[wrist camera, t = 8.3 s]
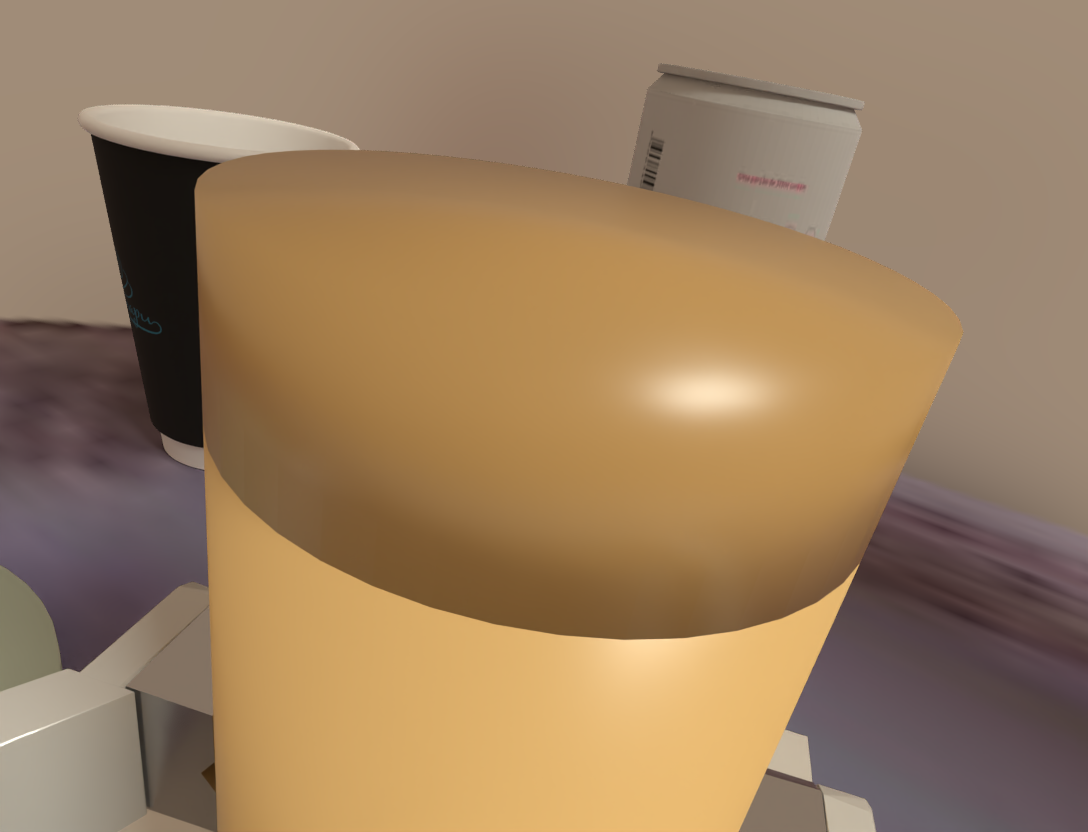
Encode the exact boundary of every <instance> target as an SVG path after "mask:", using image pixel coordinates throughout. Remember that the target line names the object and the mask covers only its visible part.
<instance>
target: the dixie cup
mask: <svg viewBox="0 0 1088 832" xmlns="http://www.w3.org/2000/svg"><path fill="white" fill-rule="evenodd" d="M78 122H79V124H80V126H81V127H83V129H84V130H86V131H87V132H89V133H91V136H92V142H93V146H94V151H95V156H96V160H97V165H98V170H99V175H100V180H101V185H102V189H103V194H104V199H105V203H106V208H107V213H108V218H109V223H110V227H111V232H112V237H113V242H114V246H115V251H116V256H117V261H118V265H119V270H120V275H121V279H122V284H123V289H124V294H125V299H126V303H127V308H128V313H129V318H130V322H131V327H132V332H133V337H134V341H135V346H136V351H137V356H138V360H139V365H140V370H141V375H142V379H143V384H144V389H145V394H146V398H147V403H148V408H149V413H150V417H151V421H152V423H153V425H154V426H155V428H156V429H157V430H158V431H159V432H161V437H162V442H163V446H164V449H165V451H166V452H167V453H168V454H169V455H170V456H171V457H172V458H173V459H175V460H177V461H178V462H181V463H183V464H185V465H188V466H191V467H194V468H198V469H203V470H205V469H204V442H203V414H202V386H201V358H200V330H199V302H198V275H197V247H196V219H195V191H194V190H195V187H196V183H197V179H198V178H199V177H200V176H201V175H202V174H203V173H204V172H206V171H207V170H208V169H210V168H212V167H214V166H216V165H218V164H221V163H223V162H226V161H229V160H233V159H237V158H241V157H245V156H251V155H257V154H263V153H272V152H283V151H297V150H360V149H359V147H358V146H357V145H356V144H355V143H353V142H352V141H350V140H348V139H346V138H343V137H341V136H338V135H335V134H333V133H329V132H326V131H323V130H319V129H315V128H311V127H307V126H303V125H298V124H294V123H289V122H284V121H279V120H274V119H268V118H263V117H257V116H251V115H244V114H237V113H230V112H223V111H214V110H206V109H196V108H187V107H175V106H160V105H139V104H138V105H137V104H133V105H132V104H119V105H118V104H117V105H102V106H94V107H90V108H86V109H84V110H82V111H81V112H80V113H79V115H78Z"/></svg>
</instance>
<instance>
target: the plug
mask: <svg viewBox="0 0 1088 832" xmlns="http://www.w3.org/2000/svg"><path fill="white" fill-rule="evenodd" d="M194 191H195V219H196V247H197V275H198V302H199V330H200V358H201V386H202V414H203V442H204V469H205V497H206V525H207V553H208V581H209V609H210V636H211V664H212V692H213V720H214V748H215V775H216V803H217V831H218V832H739V830H740V828H741V825H742V823H743V821H744V819H745V817H746V814H747V812H748V810H749V808H750V805H751V803H752V801H753V799H754V797H755V794H756V792H757V790H758V788H759V786H760V783H761V781H762V779H763V777H764V774H765V772H766V770H767V768H768V766H769V763H770V761H771V759H772V757H773V755H774V752H775V750H776V748H777V746H778V743H779V741H780V739H781V737H782V735H783V732H784V730H785V728H786V726H787V724H788V721H789V719H790V717H791V715H792V712H793V710H794V708H795V706H796V704H797V701H798V699H799V697H800V695H801V693H802V690H803V688H804V686H805V684H806V682H807V679H808V677H809V675H810V673H811V670H812V668H813V666H814V664H815V662H816V659H817V657H818V655H819V653H820V651H821V648H822V646H823V644H824V642H825V639H826V637H827V635H828V633H829V631H830V628H831V626H832V624H833V622H834V620H835V617H836V615H837V613H838V611H839V608H840V606H841V604H842V602H843V600H844V597H845V595H846V593H847V591H848V589H849V586H850V584H851V582H852V580H853V577H854V575H855V573H856V571H857V569H858V566H859V564H860V562H861V560H862V558H863V555H864V553H865V551H866V549H867V546H868V544H869V542H870V540H871V538H872V535H873V533H874V531H875V529H876V527H877V524H878V522H879V520H880V518H881V516H882V513H883V511H884V509H885V507H886V504H887V502H888V500H889V498H890V496H891V493H892V491H893V489H894V487H895V485H896V482H897V480H898V478H899V476H900V473H901V471H902V469H903V467H904V464H905V462H906V460H907V458H908V456H909V454H910V451H911V449H912V447H913V445H914V442H915V440H916V438H917V436H918V434H919V431H920V429H921V427H922V425H923V422H924V420H925V418H926V416H927V414H928V411H929V409H930V407H931V404H932V403H933V400H934V398H935V396H936V394H937V392H938V389H939V387H940V385H941V383H942V381H943V378H944V376H945V374H946V372H947V369H948V367H949V365H950V363H951V361H952V358H953V356H954V354H955V352H956V350H957V347H958V345H959V342H960V340H961V337H962V335H963V330H962V327H961V323H960V320H959V318H958V317H957V316H956V315H955V313H954V312H953V311H952V310H951V308H950V307H949V306H947V305H946V304H945V303H944V302H943V301H942V300H940V299H939V298H938V297H937V296H936V295H934V294H933V293H931V292H930V291H928V290H927V289H925V288H923V287H922V286H920V285H919V284H917V283H916V282H914V281H912V280H910V279H909V278H907V277H904V276H903V275H901V274H899V273H897V272H896V271H893V270H891V269H889V268H887V267H885V266H883V265H881V264H879V263H877V262H874V261H872V260H870V259H868V258H866V257H863V256H861V255H858V254H856V253H853V252H851V251H849V250H846V249H844V248H842V247H839V246H836V245H833V244H831V243H828V242H826V241H823V240H820V239H818V238H815V237H812V236H809V235H806V234H803V233H800V232H797V231H794V230H792V229H789V228H786V227H783V226H779V225H776V224H773V223H770V222H767V221H763V220H760V219H757V218H754V217H750V216H747V215H743V214H740V213H736V212H733V211H729V210H726V209H722V208H719V207H715V206H711V205H707V204H703V203H700V202H696V201H692V200H688V199H684V198H680V197H676V196H672V195H668V194H664V193H659V192H655V191H650V190H646V189H641V188H637V187H633V186H628V185H623V184H618V183H613V182H608V181H604V180H599V179H593V178H588V177H583V176H577V175H572V174H567V173H561V172H555V171H549V170H544V169H538V168H531V167H525V166H518V165H512V164H505V163H498V162H490V161H483V160H474V159H466V158H456V157H449V156H439V155H428V154H417V153H404V152H389V151H369V150H367V151H366V150H297V151H283V152H272V153H263V154H257V155H251V156H245V157H241V158H237V159H233V160H229V161H226V162H223V163H221V164H218V165H216V166H214V167H212V168H210V169H208V170H207V171H206V172H204V173H203V174H202V175H201V176H200V177H199V178H198V179H197V183H196V187H195V190H194Z"/></svg>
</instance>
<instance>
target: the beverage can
mask: <svg viewBox="0 0 1088 832" xmlns="http://www.w3.org/2000/svg"><path fill="white" fill-rule="evenodd" d="M657 71H658V72H661V73H664V74H663V75H662V76H661V77H660V78H659V79H658V80H657V81H656V82H654V83H653V84H652V85H651V86H650V87H649V88H648V89H647V94H646V99H645V103H644V108H643V113H642V117H641V123H640V127H639V131H638V137H637V141H636V146H635V150H634V155H633V159H632V164H631V169H630V174H629V178H628V183H627V185H628V186H633V187H637V188H641V189H646V190H650V191H655V192H659V193H664V194H668V195H672V196H676V197H680V198H684V199H688V200H692V201H696V202H700V203H703V204H707V205H711V206H715V207H719V208H722V209H726V210H729V211H733V212H736V213H740V214H743V215H747V216H750V217H754V218H757V219H760V220H763V221H767V222H770V223H773V224H776V225H779V226H783V227H786V228H789V229H792V230H794V231H797V232H800V233H803V234H806V235H809V236H812V237H815V238H818V239H820V240H823V241H824V240H825V237H826V234H827V232H828V228H829V226H830V222H831V220H832V217H833V214H834V211H835V208H836V205H837V202H838V199H839V196H840V193H841V190H842V188H843V185H844V182H845V178H846V175H847V173H848V170H849V167H850V164H851V161H852V158H853V155H854V152H855V149H856V146H857V143H858V140H859V138H860V135H861V132H862V129H861V126H860V124H859V121H858V119H857V116H856V113H855V111H854V109H855V110H862V109H863V106H864V103H865V102H863V101H859V100H855V99H851V98H847V97H842V96H837V95H832V94H827V93H823V92H818V91H813V90H808V89H803V88H798V87H793V86H787V85H782V84H777V83H772V82H767V81H761V80H755V79H750V78H745V77H739V76H734V75H729V74H723V73H717V72H712V71H706V70H700V69H694V68H688V67H682V66H676V65H669V64H659V66H658V70H657Z"/></svg>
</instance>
